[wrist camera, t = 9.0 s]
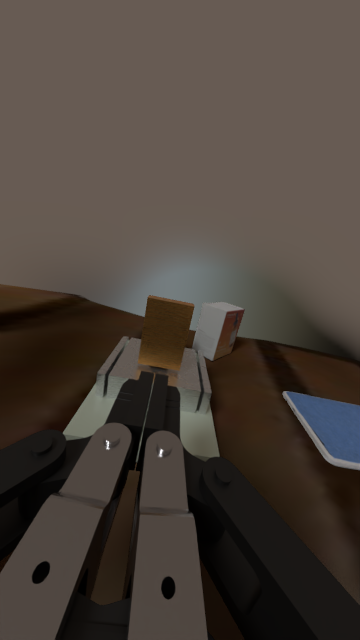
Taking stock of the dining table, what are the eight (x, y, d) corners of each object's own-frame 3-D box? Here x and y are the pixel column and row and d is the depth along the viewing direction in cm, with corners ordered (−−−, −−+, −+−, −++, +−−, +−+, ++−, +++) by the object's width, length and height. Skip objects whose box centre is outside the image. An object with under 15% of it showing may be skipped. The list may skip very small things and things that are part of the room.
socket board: (214, 474, 19) (237, 410, 16) (61, 450, 18) (63, 380, 15) (197, 363, 38) (207, 326, 35) (123, 349, 37) (128, 310, 34)
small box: (212, 362, 39) (226, 311, 36) (190, 349, 42) (202, 302, 39) (231, 353, 45) (245, 308, 42) (211, 342, 48) (223, 301, 45)
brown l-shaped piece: (179, 372, 24) (194, 306, 21) (137, 364, 23) (147, 297, 21) (180, 331, 36) (189, 287, 34) (152, 326, 36) (160, 281, 33)
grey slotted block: (205, 414, 23) (211, 393, 22) (95, 396, 22) (97, 373, 21) (198, 367, 32) (202, 350, 31) (121, 353, 31) (123, 336, 31)
